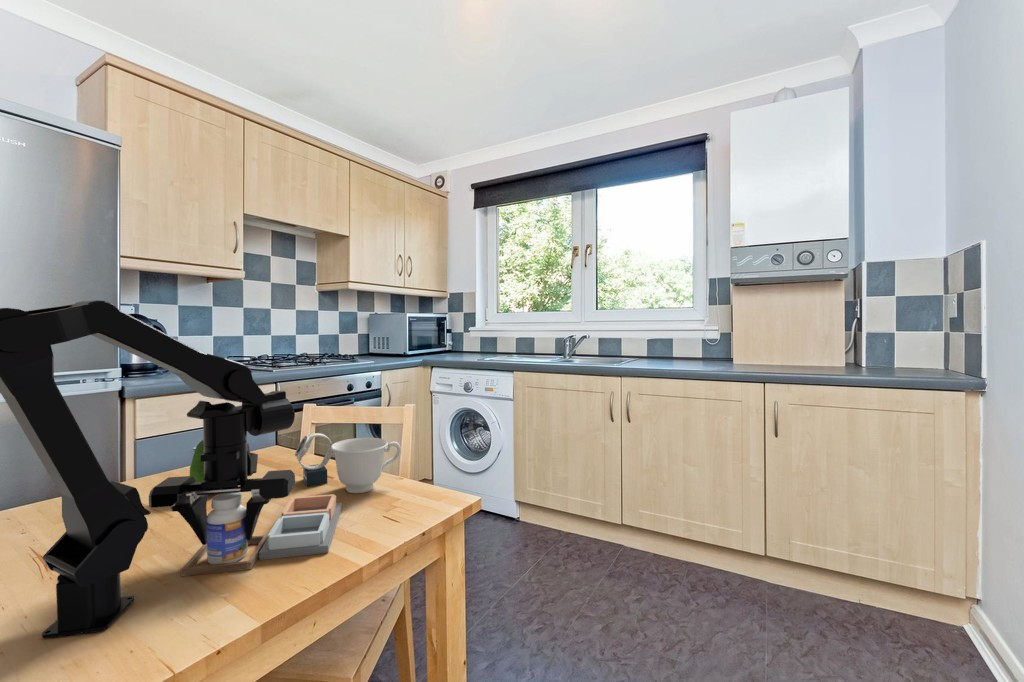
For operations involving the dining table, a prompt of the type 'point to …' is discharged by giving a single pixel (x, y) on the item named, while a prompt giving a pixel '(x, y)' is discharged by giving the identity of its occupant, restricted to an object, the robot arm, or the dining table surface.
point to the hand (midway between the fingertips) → (227, 541)
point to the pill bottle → (226, 529)
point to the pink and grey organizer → (303, 527)
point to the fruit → (198, 463)
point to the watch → (313, 472)
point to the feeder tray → (224, 567)
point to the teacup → (361, 461)
